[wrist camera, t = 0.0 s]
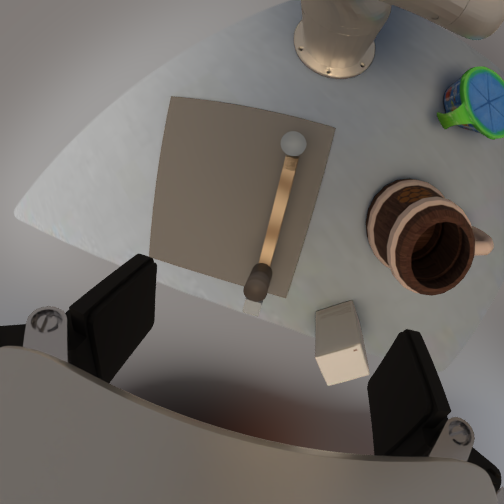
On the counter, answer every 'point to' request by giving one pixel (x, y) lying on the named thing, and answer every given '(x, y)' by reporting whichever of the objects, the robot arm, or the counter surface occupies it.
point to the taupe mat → (232, 189)
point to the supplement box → (340, 344)
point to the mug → (423, 236)
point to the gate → (271, 235)
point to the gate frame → (292, 146)
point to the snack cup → (476, 103)
